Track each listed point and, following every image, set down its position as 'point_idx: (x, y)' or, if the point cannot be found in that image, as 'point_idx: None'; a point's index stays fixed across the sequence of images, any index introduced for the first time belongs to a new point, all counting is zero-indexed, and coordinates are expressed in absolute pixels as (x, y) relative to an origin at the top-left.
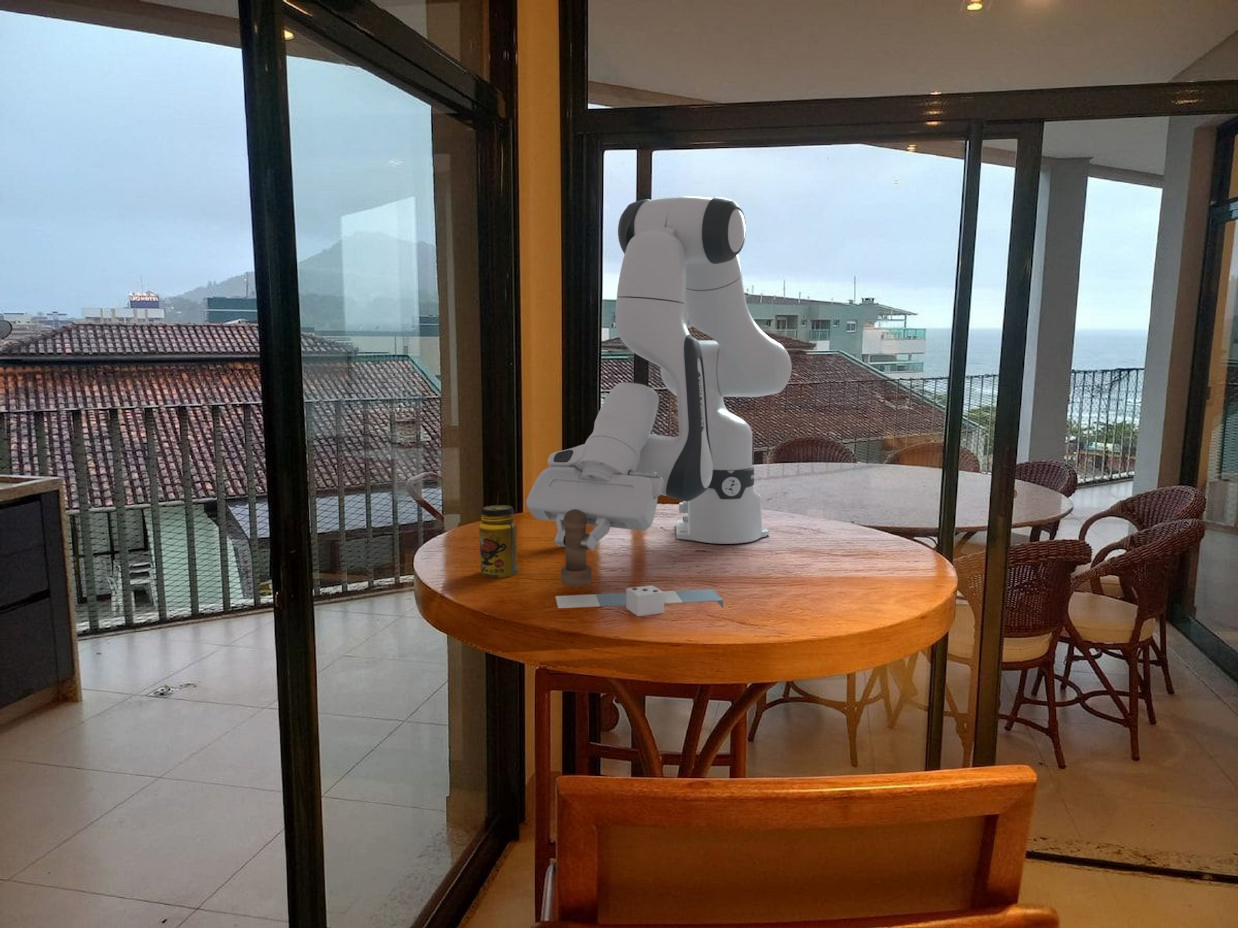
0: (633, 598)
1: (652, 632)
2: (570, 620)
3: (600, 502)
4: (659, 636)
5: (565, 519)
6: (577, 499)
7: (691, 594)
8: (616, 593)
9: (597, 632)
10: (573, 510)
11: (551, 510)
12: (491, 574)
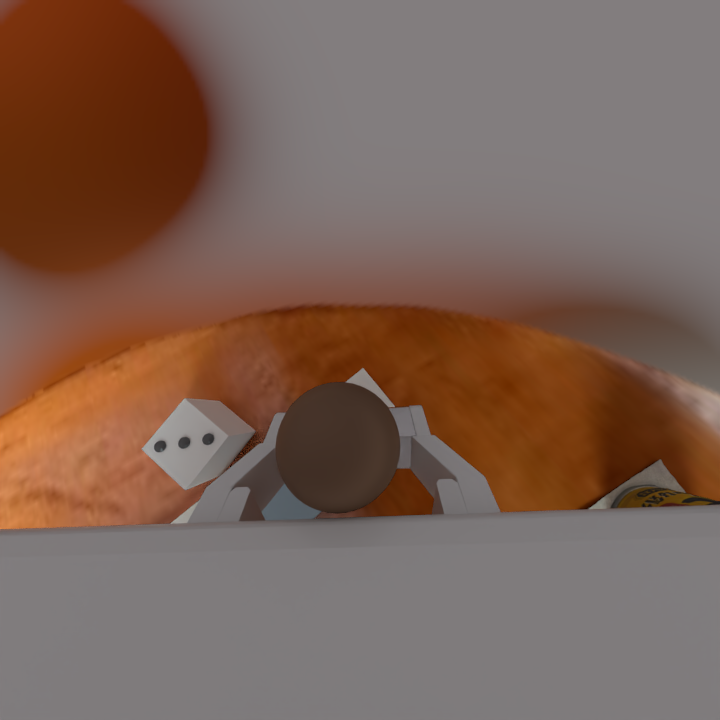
0: (208, 412)
1: (180, 371)
2: (327, 355)
3: (170, 640)
4: (163, 360)
5: (360, 387)
6: (406, 649)
7: None
8: (314, 516)
9: (258, 328)
10: (328, 429)
11: (557, 510)
12: (656, 491)
